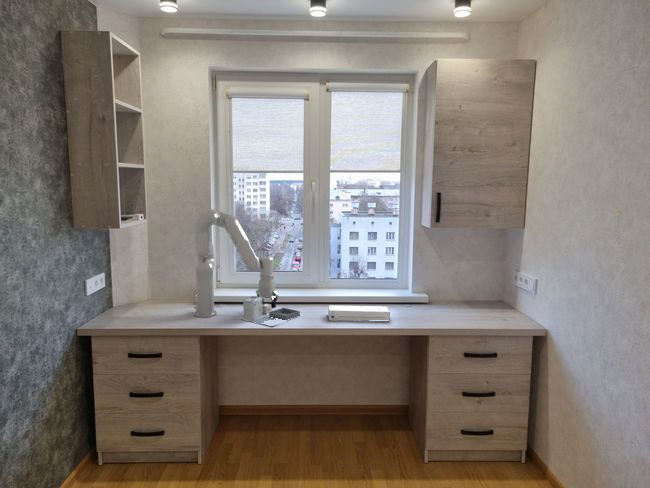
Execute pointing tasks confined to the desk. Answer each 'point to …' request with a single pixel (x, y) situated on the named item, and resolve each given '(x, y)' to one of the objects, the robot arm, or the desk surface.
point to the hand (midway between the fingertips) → (267, 306)
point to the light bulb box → (252, 308)
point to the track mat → (260, 319)
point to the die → (266, 308)
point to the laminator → (358, 313)
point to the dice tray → (284, 313)
